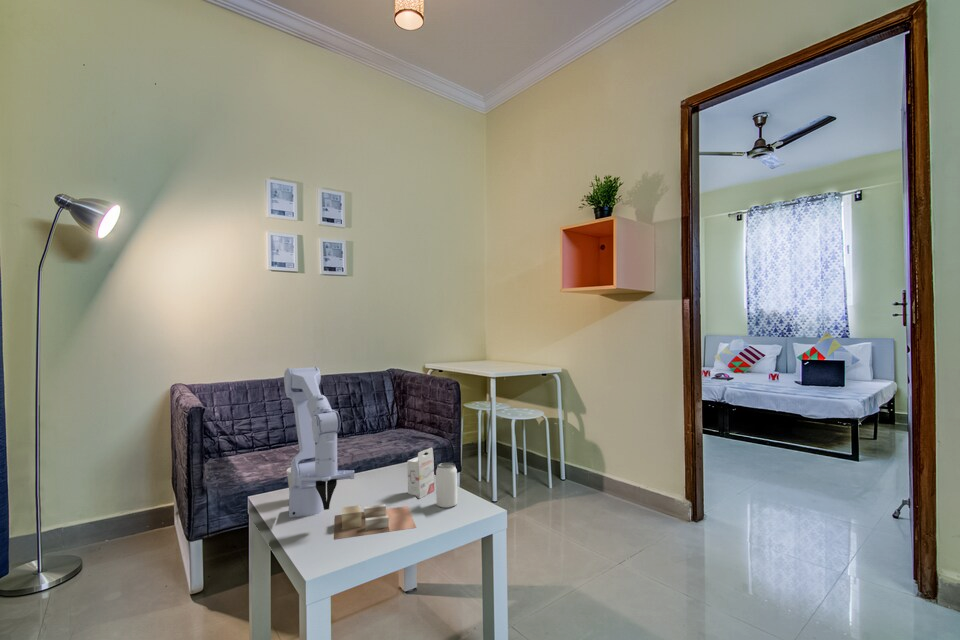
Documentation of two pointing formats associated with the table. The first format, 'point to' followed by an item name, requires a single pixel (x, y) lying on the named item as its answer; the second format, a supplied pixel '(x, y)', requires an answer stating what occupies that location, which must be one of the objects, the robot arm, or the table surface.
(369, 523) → the board
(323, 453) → the robot arm
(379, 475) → the table surface
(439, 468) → the can
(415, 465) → the ink cartridge box
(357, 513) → the maple block
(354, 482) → the table surface
